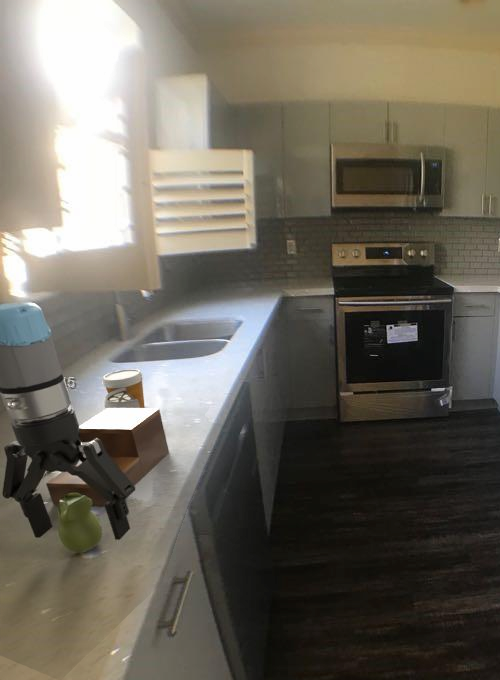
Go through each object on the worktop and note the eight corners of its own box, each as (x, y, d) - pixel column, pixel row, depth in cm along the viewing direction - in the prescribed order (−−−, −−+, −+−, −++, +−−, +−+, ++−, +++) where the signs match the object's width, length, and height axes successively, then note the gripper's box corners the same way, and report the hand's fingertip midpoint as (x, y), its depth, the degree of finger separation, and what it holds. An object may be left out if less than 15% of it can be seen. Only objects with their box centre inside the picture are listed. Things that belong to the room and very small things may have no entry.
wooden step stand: (53, 504, 86) (35, 453, 82) (119, 451, 105) (107, 408, 101) (112, 506, 85) (97, 454, 81) (169, 452, 104) (159, 408, 100)
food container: (107, 429, 116) (97, 393, 112) (133, 422, 120) (124, 386, 116) (119, 446, 107) (109, 407, 104) (147, 437, 111) (138, 399, 107)
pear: (90, 533, 78) (73, 483, 74) (113, 540, 76) (98, 489, 73) (58, 556, 73) (39, 503, 69) (83, 563, 71) (64, 509, 68)
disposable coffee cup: (122, 410, 127) (111, 369, 123) (157, 408, 128) (148, 367, 124) (105, 425, 119) (93, 381, 114) (143, 422, 119) (132, 379, 115)
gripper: (-62, 423, 64) (-9, 547, 71) (105, 423, 61) (142, 551, 69) (-14, 402, 71) (30, 516, 78) (139, 401, 68) (169, 519, 76)
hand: (83, 533), depth 73 cm, fingers open, 13 cm apart
